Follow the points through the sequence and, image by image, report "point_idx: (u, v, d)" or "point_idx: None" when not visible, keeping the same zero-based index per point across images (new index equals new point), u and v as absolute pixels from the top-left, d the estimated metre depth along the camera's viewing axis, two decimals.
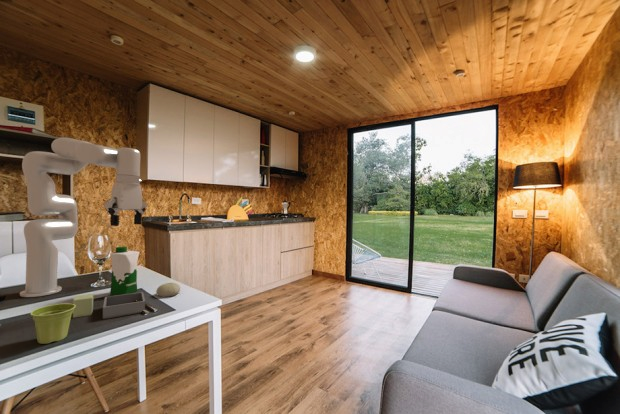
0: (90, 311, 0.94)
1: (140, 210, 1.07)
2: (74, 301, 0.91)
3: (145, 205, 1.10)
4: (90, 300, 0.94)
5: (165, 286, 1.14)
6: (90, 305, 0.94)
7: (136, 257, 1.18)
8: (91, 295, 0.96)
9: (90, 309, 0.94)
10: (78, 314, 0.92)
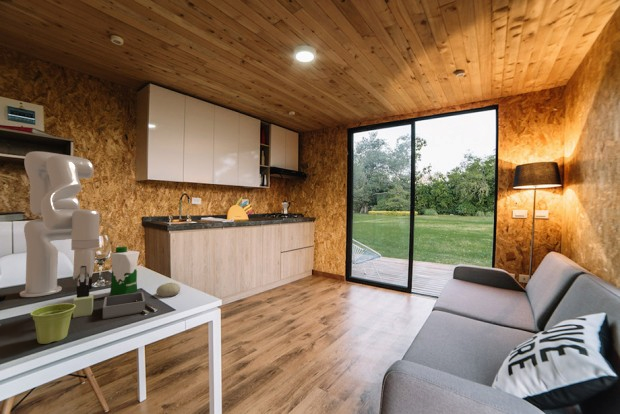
0: (90, 311, 0.94)
1: None
2: (74, 301, 0.91)
3: None
4: (90, 300, 0.94)
5: (165, 286, 1.14)
6: (90, 305, 0.94)
7: (136, 257, 1.18)
8: (91, 295, 0.96)
9: (90, 309, 0.94)
10: (78, 314, 0.92)
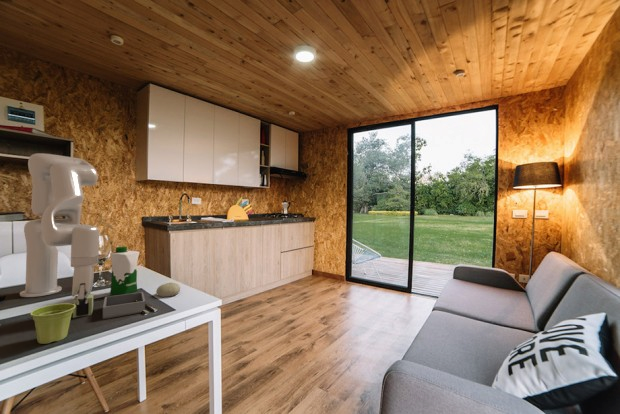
0: (90, 311, 0.94)
1: None
2: (74, 301, 0.91)
3: None
4: (90, 300, 0.94)
5: (165, 286, 1.14)
6: (90, 305, 0.94)
7: (136, 257, 1.18)
8: (91, 295, 0.96)
9: (90, 309, 0.94)
10: None
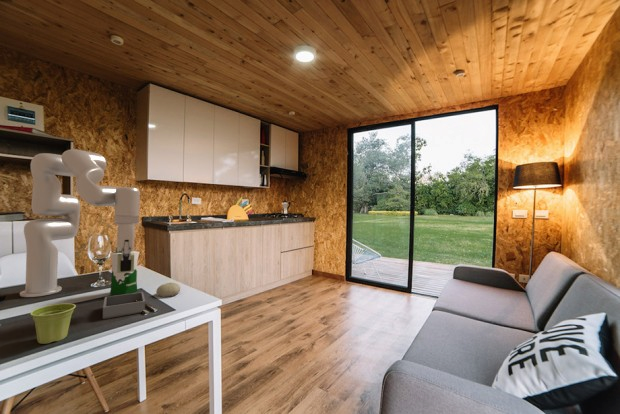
0: (132, 268, 0.98)
1: None
2: (118, 257, 0.96)
3: None
4: (133, 257, 0.98)
5: (165, 286, 1.14)
6: (132, 262, 0.98)
7: (136, 257, 1.18)
8: (132, 254, 1.00)
9: (132, 266, 0.98)
10: None
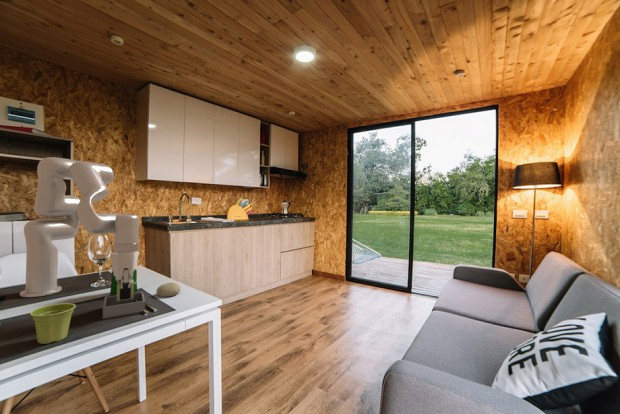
0: (132, 295, 0.98)
1: None
2: (118, 285, 0.96)
3: None
4: (132, 284, 0.98)
5: (165, 286, 1.14)
6: (132, 289, 0.98)
7: (136, 257, 1.18)
8: (132, 280, 1.00)
9: (132, 293, 0.98)
10: None
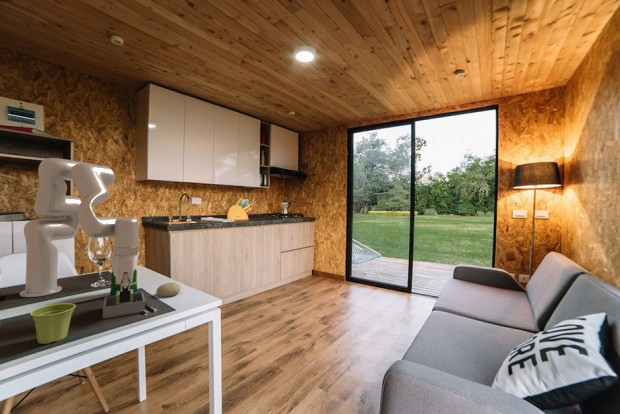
0: None
1: None
2: (117, 296, 0.96)
3: None
4: (131, 295, 0.98)
5: (165, 286, 1.14)
6: (131, 300, 0.98)
7: (136, 257, 1.18)
8: (131, 291, 1.00)
9: None
10: None
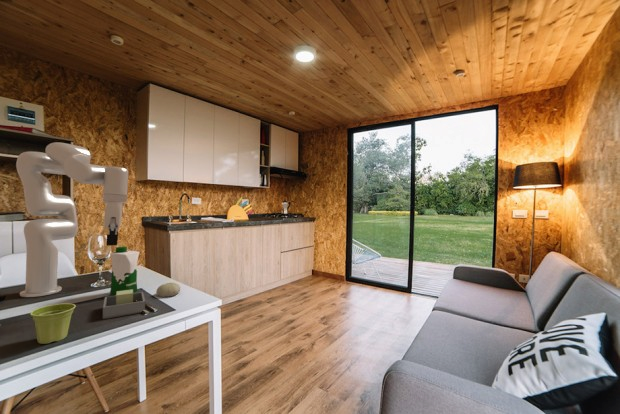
0: None
1: None
2: (117, 296, 0.96)
3: (115, 221, 1.09)
4: (131, 295, 0.98)
5: (165, 286, 1.14)
6: (131, 300, 0.98)
7: (136, 257, 1.18)
8: (131, 291, 1.00)
9: None
10: None
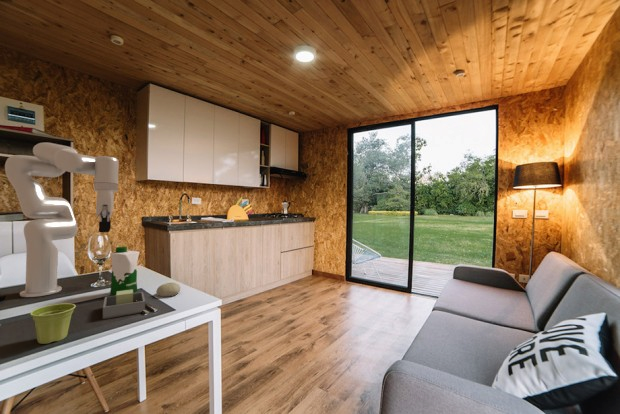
0: None
1: None
2: (117, 296, 0.96)
3: None
4: (131, 295, 0.98)
5: (165, 286, 1.14)
6: (131, 300, 0.98)
7: (136, 257, 1.18)
8: (131, 291, 1.00)
9: None
10: None
